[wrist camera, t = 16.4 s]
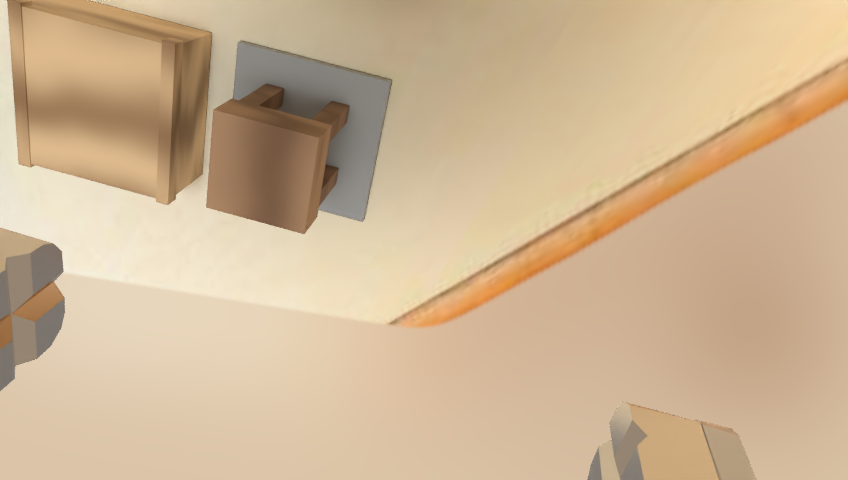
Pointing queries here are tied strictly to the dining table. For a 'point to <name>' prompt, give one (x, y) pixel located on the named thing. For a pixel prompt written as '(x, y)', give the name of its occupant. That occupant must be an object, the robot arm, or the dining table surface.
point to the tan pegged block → (272, 159)
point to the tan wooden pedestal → (109, 94)
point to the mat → (308, 95)
